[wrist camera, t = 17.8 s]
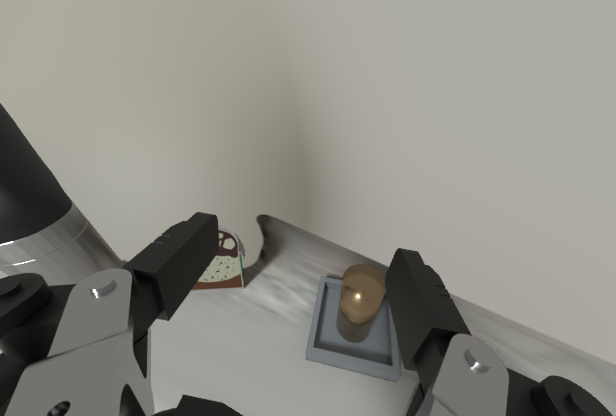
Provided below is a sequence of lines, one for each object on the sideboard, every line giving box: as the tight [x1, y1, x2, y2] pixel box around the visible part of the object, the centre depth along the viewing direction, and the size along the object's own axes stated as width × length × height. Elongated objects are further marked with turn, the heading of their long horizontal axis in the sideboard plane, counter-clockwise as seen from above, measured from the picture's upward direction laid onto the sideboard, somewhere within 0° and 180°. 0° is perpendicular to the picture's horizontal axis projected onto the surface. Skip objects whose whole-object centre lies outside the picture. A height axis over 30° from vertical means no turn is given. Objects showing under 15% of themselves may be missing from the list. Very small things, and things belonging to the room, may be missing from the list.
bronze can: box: [336, 264, 386, 343], centre depth 30 cm, size 5×5×11 cm
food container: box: [190, 226, 245, 292], centre depth 38 cm, size 12×6×10 cm, turn 93°
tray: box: [306, 277, 401, 382], centre depth 33 cm, size 12×12×2 cm
